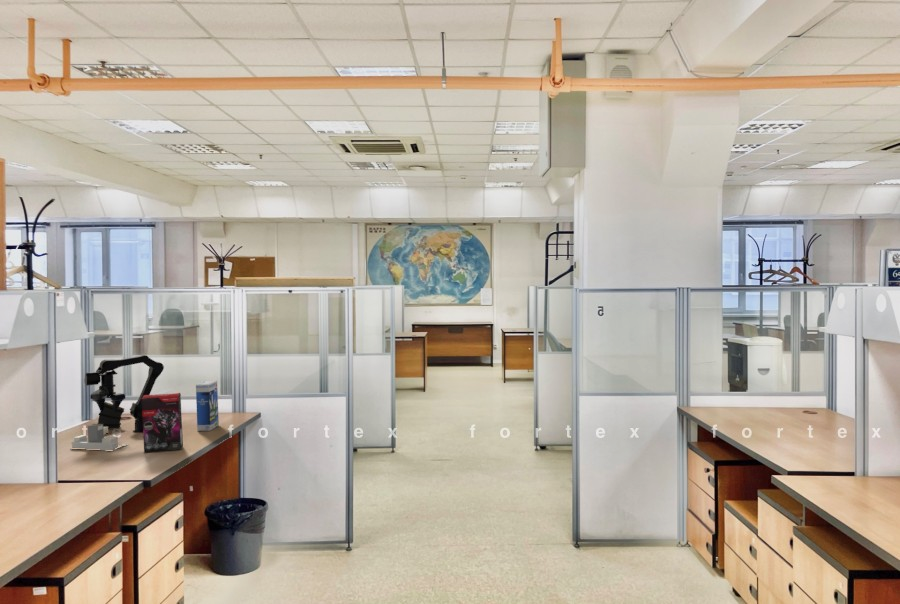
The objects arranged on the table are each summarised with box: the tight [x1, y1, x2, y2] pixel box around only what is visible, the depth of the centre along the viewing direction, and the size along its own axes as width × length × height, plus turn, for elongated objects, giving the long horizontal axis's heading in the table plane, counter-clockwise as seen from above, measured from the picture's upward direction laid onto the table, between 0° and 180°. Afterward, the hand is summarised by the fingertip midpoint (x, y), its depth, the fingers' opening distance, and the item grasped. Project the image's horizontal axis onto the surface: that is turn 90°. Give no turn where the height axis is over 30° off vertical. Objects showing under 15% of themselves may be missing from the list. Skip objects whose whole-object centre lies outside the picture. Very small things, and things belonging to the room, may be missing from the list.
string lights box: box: [195, 380, 220, 432], centre depth 344 cm, size 13×8×26 cm, turn 0°
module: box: [87, 423, 105, 443], centre depth 308 cm, size 4×6×11 cm
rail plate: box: [71, 434, 129, 451], centre depth 308 cm, size 12×24×5 cm, turn 77°
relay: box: [103, 427, 109, 435], centre depth 334 cm, size 6×4×4 cm
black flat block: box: [96, 401, 125, 429], centre depth 347 cm, size 4×13×15 cm, turn 108°
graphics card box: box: [142, 392, 184, 454], centre depth 301 cm, size 17×7×27 cm, turn 105°
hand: (108, 412), depth 329 cm, fingers open, 9 cm apart
